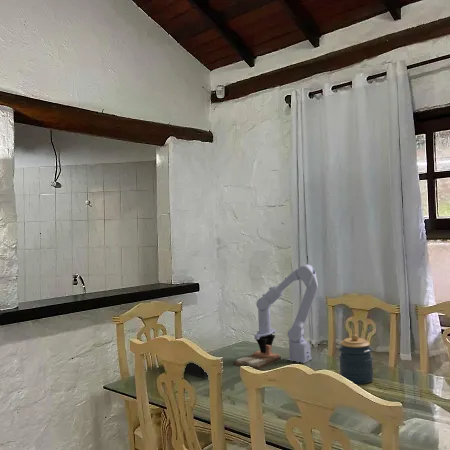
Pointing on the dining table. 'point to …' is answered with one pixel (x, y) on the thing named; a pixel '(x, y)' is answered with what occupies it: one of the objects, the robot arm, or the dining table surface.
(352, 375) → the canister
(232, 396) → the dining table surface
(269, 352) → the stub
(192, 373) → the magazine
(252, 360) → the ticket board
